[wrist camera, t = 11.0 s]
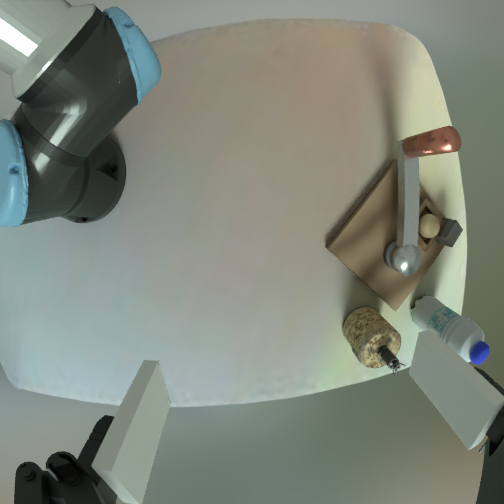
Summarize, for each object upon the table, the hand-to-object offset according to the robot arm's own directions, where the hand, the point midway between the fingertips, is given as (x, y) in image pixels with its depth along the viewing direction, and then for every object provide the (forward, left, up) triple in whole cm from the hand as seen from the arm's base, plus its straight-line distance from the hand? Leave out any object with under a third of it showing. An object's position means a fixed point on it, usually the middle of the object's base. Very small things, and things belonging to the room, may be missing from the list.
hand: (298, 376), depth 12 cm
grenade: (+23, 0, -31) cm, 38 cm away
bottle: (+32, +10, -31) cm, 46 cm away
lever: (+12, +20, -27) cm, 36 cm away
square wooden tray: (+17, +16, -31) cm, 39 cm away
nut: (+19, +21, -29) cm, 41 cm away
